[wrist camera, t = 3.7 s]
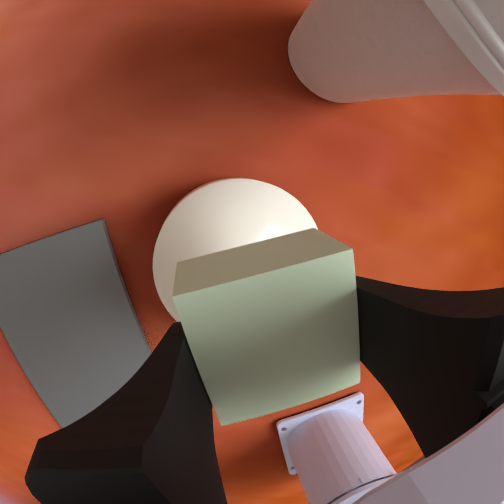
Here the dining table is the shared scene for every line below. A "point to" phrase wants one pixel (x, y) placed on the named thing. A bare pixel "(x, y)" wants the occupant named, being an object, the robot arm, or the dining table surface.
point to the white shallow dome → (222, 225)
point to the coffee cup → (399, 48)
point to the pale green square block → (271, 322)
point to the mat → (70, 319)
